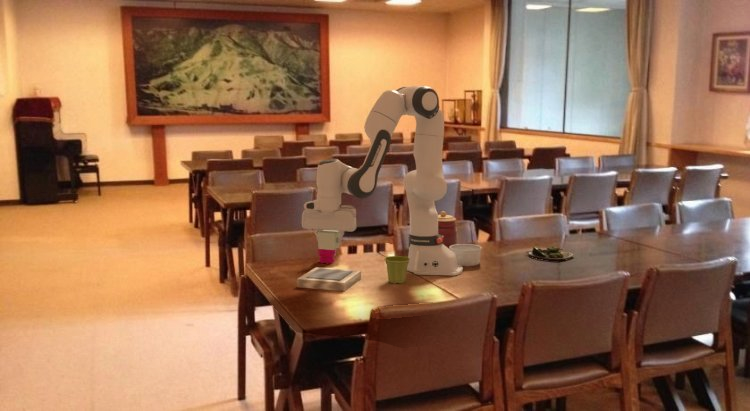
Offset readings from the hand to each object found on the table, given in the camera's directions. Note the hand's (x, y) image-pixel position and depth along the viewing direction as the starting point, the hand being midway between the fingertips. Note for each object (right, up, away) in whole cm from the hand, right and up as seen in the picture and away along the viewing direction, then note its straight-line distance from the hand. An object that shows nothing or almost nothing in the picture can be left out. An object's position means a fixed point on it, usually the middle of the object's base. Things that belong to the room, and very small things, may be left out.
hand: (329, 242), depth 245 cm
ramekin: (+54, -11, +32) cm, 64 cm away
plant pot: (+25, -15, +4) cm, 29 cm away
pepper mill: (-3, -10, +35) cm, 36 cm away
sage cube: (0, -2, 0) cm, 2 cm away
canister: (+47, -7, +57) cm, 74 cm away
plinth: (0, -15, +2) cm, 15 cm away
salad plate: (+91, -9, +44) cm, 102 cm away
